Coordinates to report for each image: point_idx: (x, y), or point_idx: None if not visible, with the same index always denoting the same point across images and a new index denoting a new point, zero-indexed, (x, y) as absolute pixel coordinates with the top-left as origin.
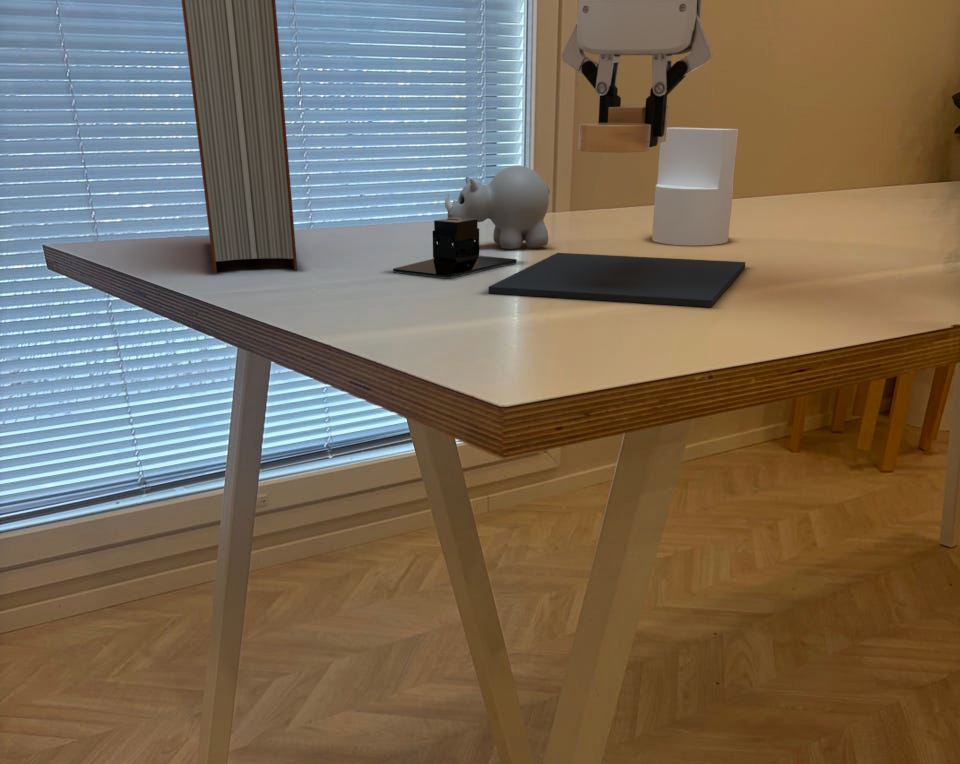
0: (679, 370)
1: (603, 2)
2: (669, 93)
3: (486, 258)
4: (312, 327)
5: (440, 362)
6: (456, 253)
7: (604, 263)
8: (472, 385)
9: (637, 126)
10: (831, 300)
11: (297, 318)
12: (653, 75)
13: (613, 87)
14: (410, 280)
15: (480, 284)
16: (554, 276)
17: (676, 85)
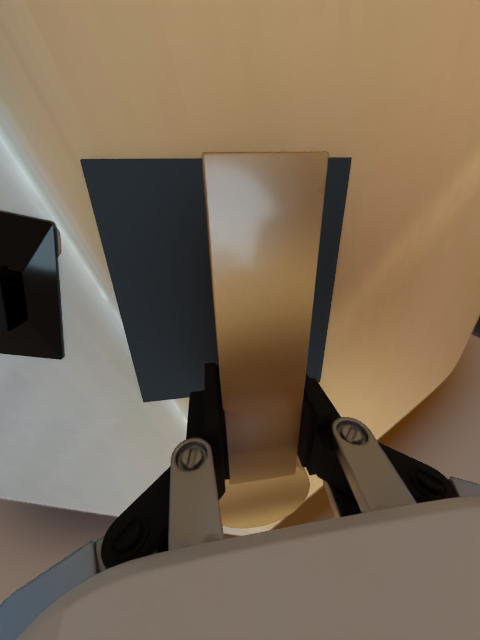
0: (311, 489)
1: None
2: (355, 423)
3: (33, 269)
4: (109, 505)
5: None
6: (22, 322)
7: (187, 240)
8: (240, 530)
9: (295, 508)
10: (404, 320)
11: (82, 497)
12: (337, 516)
13: (222, 488)
14: (36, 376)
15: (112, 367)
16: (172, 341)
17: (382, 447)
